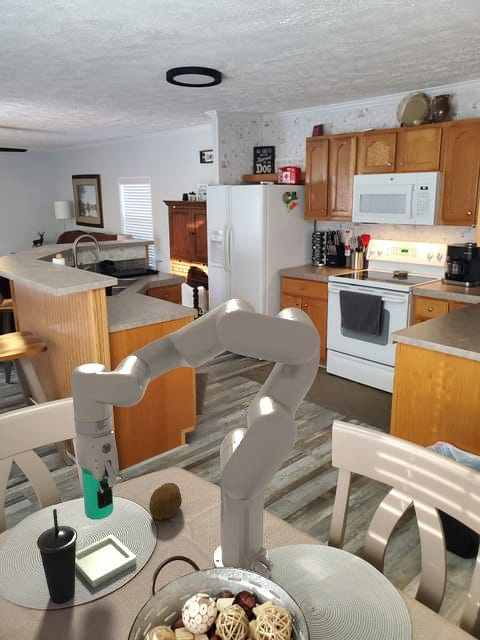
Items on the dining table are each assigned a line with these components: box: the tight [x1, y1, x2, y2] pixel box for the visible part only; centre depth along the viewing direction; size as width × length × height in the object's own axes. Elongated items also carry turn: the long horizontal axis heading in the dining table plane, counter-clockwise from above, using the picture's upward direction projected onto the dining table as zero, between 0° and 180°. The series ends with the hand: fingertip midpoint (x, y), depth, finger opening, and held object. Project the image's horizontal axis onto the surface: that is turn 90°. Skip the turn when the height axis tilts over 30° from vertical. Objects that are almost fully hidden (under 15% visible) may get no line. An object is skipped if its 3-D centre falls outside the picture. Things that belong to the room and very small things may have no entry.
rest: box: [75, 534, 137, 589], centre depth 114 cm, size 11×11×2 cm
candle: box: [81, 469, 114, 521], centre depth 110 cm, size 6×6×12 cm
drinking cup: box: [36, 508, 78, 605], centre depth 103 cm, size 8×8×20 cm
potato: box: [149, 482, 183, 520], centre depth 131 cm, size 8×12×8 cm, turn 178°
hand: (98, 499), depth 111 cm, fingers closed on candle, 4 cm apart
